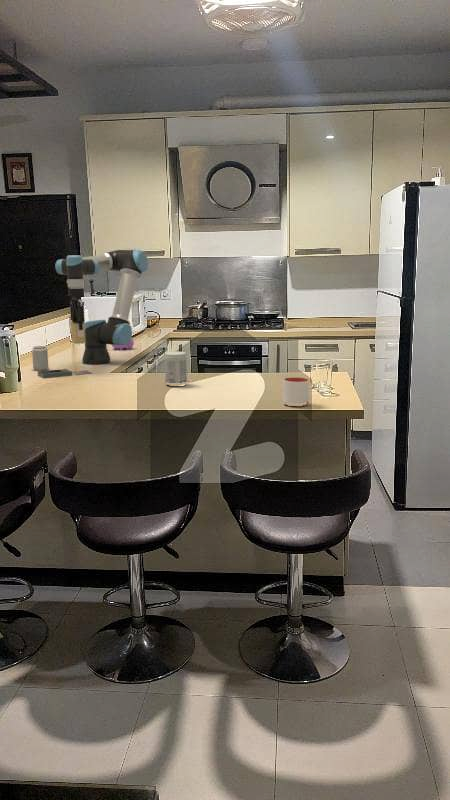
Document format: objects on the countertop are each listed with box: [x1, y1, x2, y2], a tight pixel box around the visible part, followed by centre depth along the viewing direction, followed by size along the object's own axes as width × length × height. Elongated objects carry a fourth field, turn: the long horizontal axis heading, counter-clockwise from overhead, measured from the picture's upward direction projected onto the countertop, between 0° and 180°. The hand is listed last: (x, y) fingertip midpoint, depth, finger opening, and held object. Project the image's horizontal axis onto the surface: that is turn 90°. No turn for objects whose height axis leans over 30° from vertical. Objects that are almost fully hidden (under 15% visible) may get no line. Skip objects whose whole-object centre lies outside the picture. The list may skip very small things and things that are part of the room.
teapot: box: [111, 336, 135, 351], centre depth 390 cm, size 20×14×12 cm
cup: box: [282, 376, 310, 403], centre depth 239 cm, size 10×10×10 cm
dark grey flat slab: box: [37, 368, 73, 379], centre depth 299 cm, size 14×9×2 cm, turn 124°
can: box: [31, 345, 49, 372], centre depth 314 cm, size 8×8×12 cm
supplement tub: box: [164, 351, 188, 383], centre depth 275 cm, size 10×10×15 cm
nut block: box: [70, 321, 86, 344], centre depth 302 cm, size 5×5×10 cm
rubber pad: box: [72, 370, 93, 376], centre depth 307 cm, size 8×8×1 cm
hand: (78, 335), depth 303 cm, fingers closed on nut block, 5 cm apart
